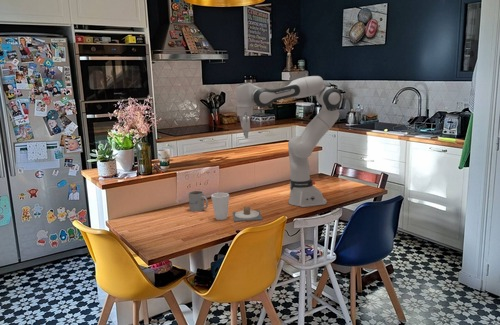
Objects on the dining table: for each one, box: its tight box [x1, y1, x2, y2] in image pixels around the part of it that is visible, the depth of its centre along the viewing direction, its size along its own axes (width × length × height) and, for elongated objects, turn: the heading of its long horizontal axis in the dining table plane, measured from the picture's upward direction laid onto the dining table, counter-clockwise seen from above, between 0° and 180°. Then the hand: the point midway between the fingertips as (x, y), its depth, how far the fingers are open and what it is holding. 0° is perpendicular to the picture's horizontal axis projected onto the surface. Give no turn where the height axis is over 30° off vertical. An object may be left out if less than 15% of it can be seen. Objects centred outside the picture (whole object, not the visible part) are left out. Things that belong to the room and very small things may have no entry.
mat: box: [232, 210, 263, 223], centre depth 233 cm, size 15×15×1 cm
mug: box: [188, 190, 209, 213], centre depth 247 cm, size 12×9×10 cm
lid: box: [235, 206, 259, 219], centre depth 232 cm, size 13×13×4 cm
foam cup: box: [210, 192, 230, 221], centre depth 231 cm, size 10×9×13 cm
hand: (245, 137), depth 240 cm, fingers open, 8 cm apart
